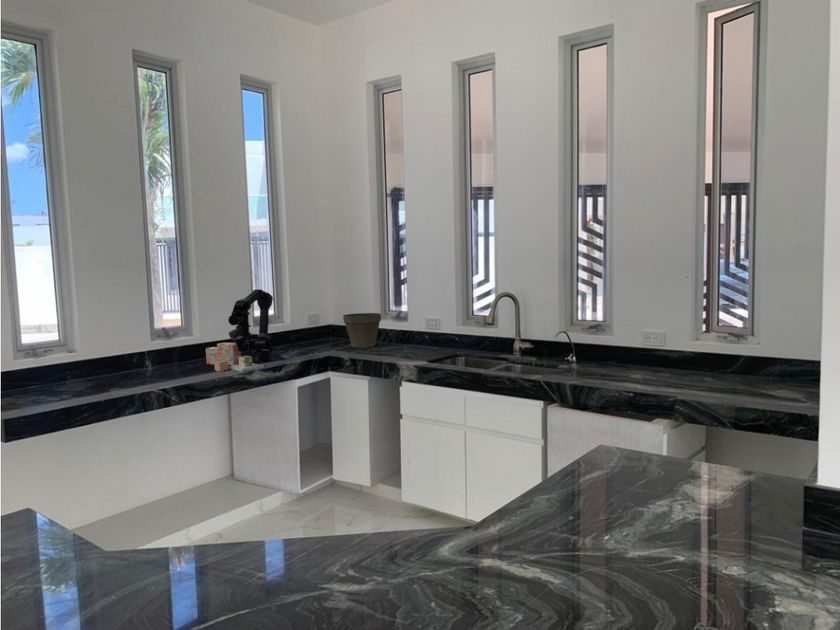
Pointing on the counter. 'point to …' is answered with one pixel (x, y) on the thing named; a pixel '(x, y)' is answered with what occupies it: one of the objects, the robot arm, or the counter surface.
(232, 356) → the stack of blocks
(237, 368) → the baseplate
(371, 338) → the plant pot
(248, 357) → the beech brick
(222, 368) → the brownish pink cube
